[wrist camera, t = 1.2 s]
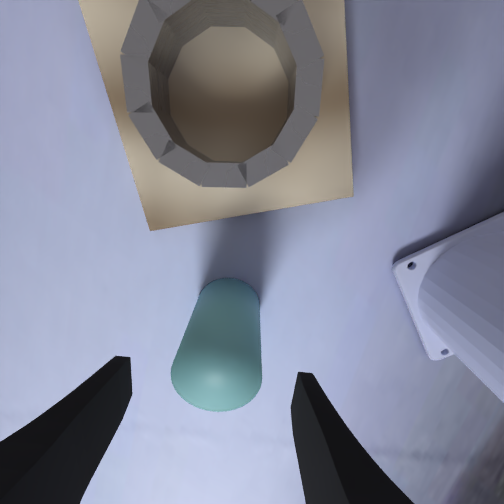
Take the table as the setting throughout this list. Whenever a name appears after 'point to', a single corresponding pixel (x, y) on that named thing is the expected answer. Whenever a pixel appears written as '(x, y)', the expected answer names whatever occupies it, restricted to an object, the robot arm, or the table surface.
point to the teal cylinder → (221, 348)
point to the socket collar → (163, 60)
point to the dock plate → (232, 116)
